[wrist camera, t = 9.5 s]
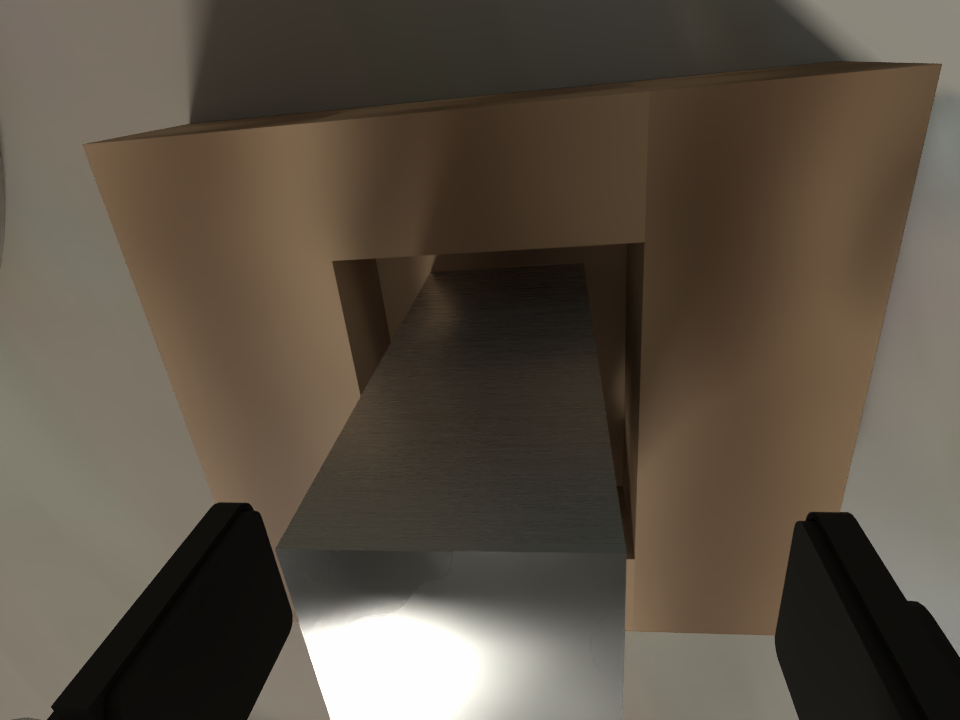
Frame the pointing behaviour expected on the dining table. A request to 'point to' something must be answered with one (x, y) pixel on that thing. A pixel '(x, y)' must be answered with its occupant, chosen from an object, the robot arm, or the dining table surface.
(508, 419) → the grey rectangular prism
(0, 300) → the dining table surface
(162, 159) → the well block
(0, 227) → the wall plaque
